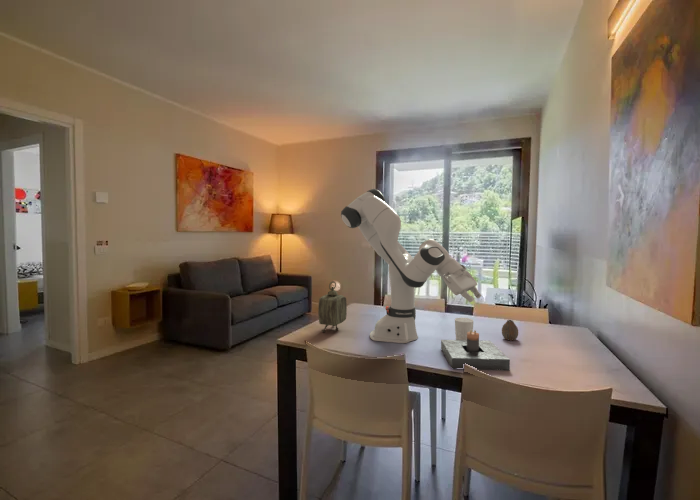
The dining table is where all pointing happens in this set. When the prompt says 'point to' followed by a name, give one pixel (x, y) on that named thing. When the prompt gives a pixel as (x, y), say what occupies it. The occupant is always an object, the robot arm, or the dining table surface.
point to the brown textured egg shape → (510, 330)
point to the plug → (472, 341)
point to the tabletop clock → (332, 308)
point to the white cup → (463, 328)
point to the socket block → (475, 355)
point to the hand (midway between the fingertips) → (476, 299)
